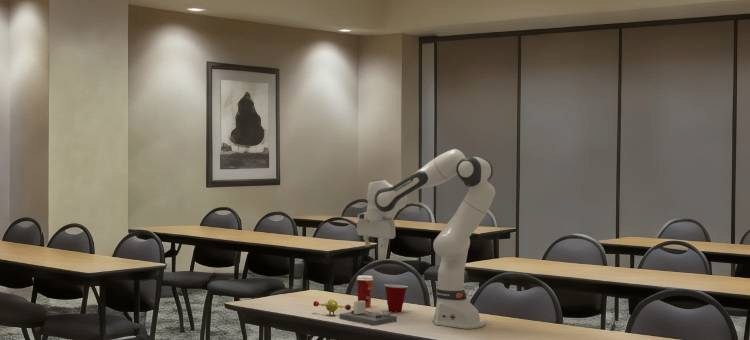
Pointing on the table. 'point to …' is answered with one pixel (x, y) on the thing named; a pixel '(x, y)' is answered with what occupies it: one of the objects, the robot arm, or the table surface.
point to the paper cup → (365, 289)
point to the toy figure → (331, 306)
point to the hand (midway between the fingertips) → (375, 247)
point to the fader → (359, 307)
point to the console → (369, 317)
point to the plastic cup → (395, 297)
